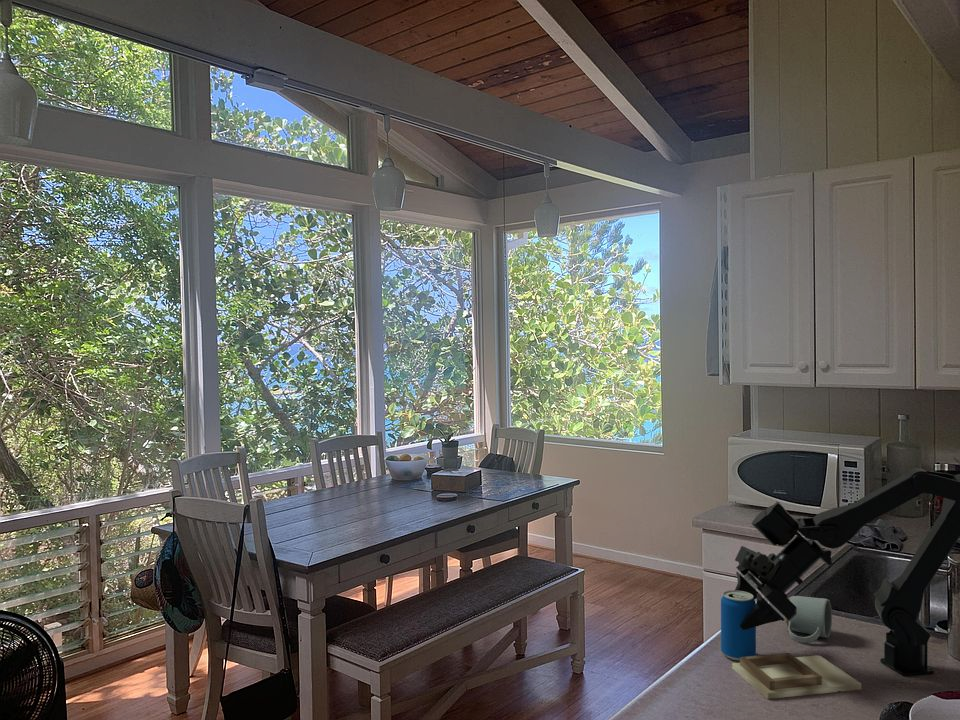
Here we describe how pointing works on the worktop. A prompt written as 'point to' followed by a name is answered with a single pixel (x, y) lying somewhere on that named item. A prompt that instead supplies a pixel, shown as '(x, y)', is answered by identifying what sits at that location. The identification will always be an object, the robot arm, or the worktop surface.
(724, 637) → the beverage can
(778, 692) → the can holder
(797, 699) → the worktop surface
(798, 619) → the ceramic mug
